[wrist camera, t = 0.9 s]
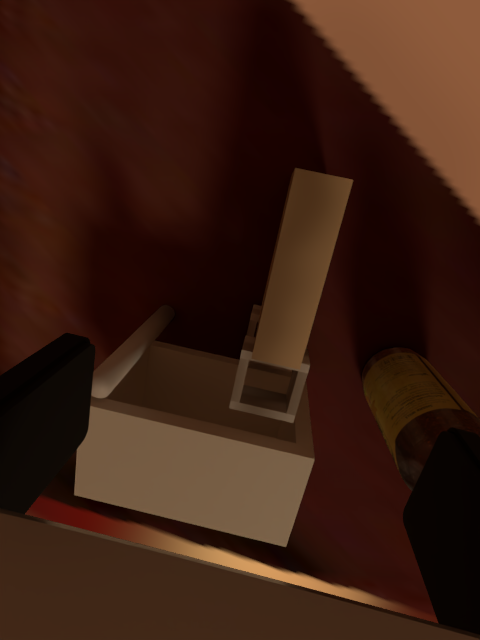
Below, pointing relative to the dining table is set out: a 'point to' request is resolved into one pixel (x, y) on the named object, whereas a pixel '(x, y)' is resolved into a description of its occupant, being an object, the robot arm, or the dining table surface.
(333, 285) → the dining table surface
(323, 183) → the door
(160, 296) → the dining table surface
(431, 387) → the sauce bottle
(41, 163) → the dining table surface
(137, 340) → the white box
